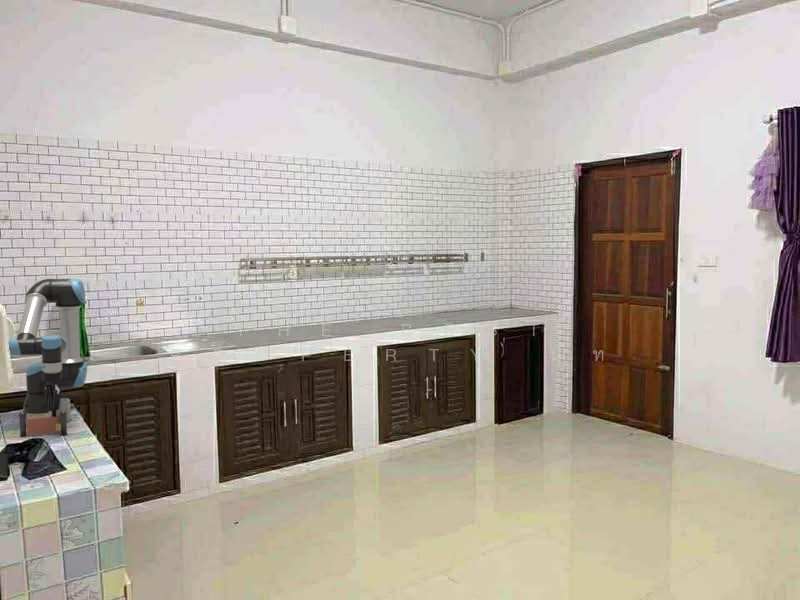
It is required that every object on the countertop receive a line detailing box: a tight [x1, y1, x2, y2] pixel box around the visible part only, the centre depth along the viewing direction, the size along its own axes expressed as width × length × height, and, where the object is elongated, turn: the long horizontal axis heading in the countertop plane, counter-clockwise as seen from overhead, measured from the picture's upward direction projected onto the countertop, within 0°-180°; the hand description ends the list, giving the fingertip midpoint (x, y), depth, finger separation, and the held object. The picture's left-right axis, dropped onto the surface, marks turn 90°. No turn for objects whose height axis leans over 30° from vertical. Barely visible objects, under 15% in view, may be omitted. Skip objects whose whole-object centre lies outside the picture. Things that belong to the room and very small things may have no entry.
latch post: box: [56, 411, 68, 437], centre depth 283 cm, size 4×4×11 cm
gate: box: [26, 415, 61, 436], centre depth 283 cm, size 13×2×8 cm, turn 109°
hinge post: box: [18, 411, 28, 438], centre depth 280 cm, size 3×3×11 cm
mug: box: [57, 397, 73, 423], centre depth 303 cm, size 8×12×12 cm, turn 29°
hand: (53, 424), depth 287 cm, fingers closed
